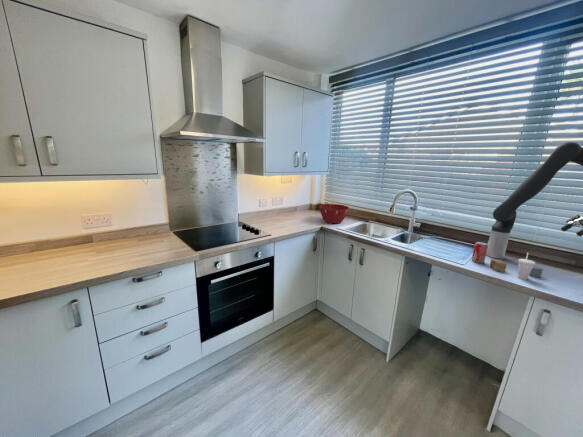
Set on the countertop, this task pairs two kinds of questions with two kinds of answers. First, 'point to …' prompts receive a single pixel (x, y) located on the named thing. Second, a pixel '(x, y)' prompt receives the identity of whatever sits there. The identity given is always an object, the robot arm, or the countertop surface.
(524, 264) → the smoothie
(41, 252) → the countertop surface
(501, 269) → the walnut block
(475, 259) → the soda can
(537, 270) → the charcoal block
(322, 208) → the mixing bowl
